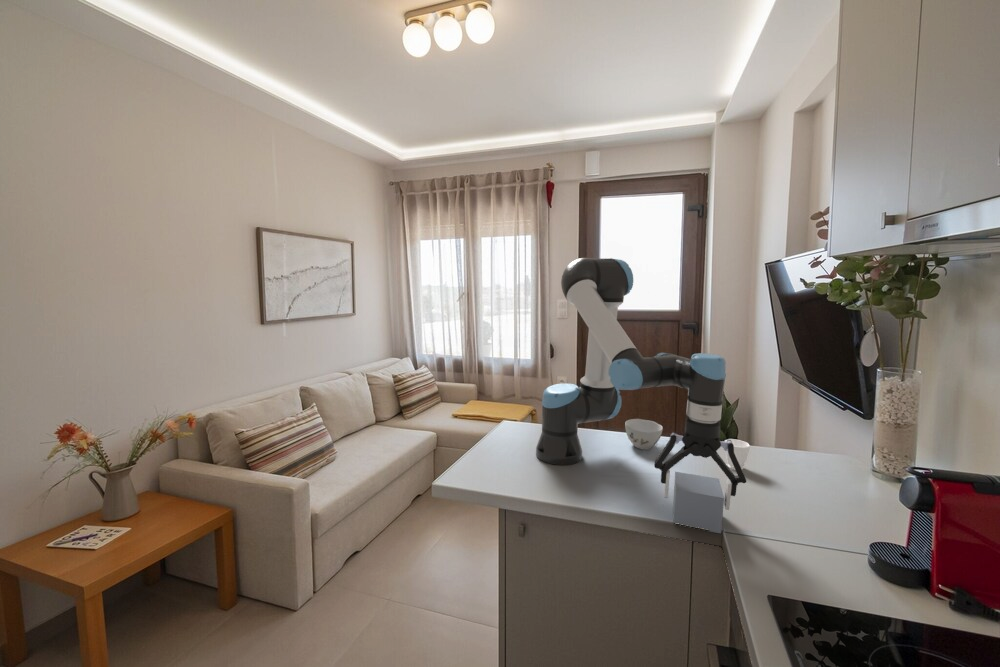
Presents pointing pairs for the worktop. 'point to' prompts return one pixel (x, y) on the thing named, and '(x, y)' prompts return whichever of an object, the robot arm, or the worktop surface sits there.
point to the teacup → (643, 432)
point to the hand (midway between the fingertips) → (695, 501)
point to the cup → (738, 453)
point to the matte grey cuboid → (698, 501)
